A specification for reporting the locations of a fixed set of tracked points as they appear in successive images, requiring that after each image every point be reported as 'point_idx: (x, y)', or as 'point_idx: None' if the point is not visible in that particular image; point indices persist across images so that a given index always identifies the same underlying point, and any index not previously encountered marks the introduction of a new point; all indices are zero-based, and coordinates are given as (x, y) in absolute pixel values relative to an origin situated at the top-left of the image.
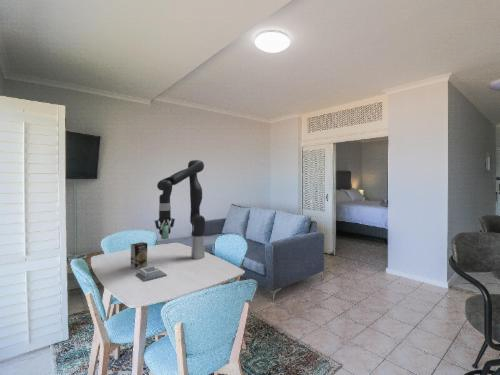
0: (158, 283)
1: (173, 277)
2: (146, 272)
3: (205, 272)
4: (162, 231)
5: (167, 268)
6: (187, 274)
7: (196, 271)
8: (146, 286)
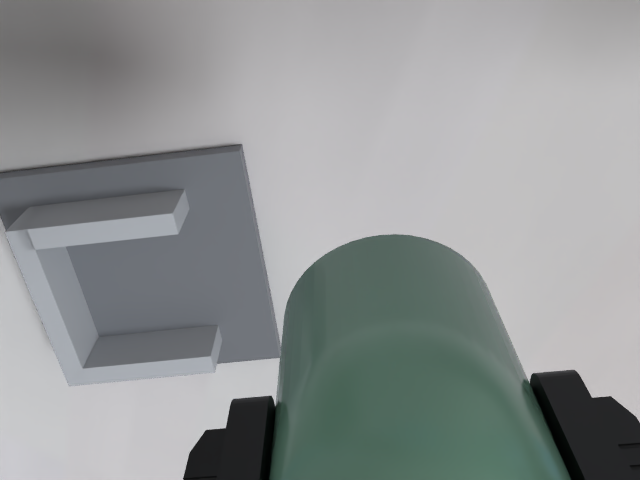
0: (177, 445)
1: None
2: (72, 367)
3: None
4: None
5: (361, 156)
6: None
7: None
8: (83, 451)
